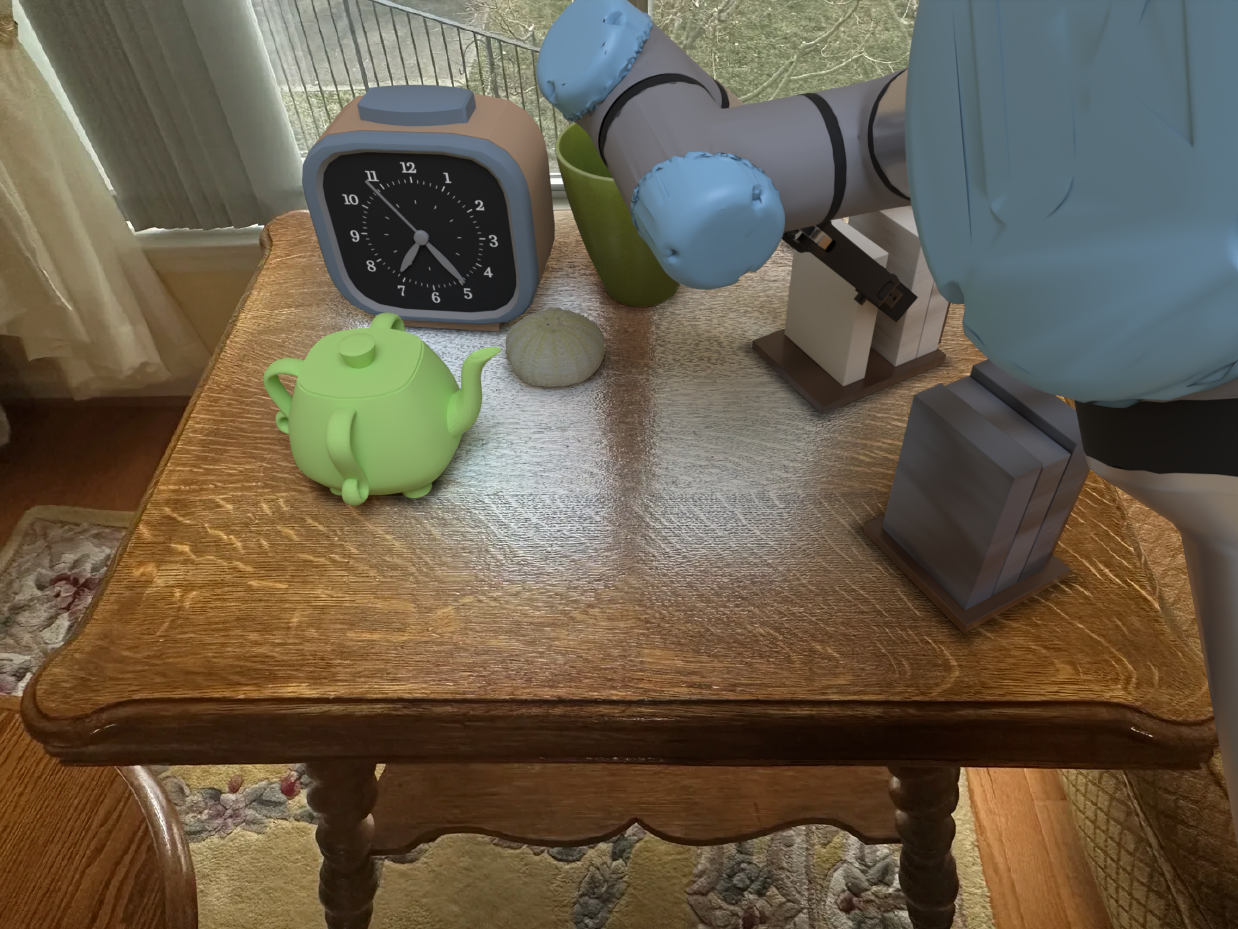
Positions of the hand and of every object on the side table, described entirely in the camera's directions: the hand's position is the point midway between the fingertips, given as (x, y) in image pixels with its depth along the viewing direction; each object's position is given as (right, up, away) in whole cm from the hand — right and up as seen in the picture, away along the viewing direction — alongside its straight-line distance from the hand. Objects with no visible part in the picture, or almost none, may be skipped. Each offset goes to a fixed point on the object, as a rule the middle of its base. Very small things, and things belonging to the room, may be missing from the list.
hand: (867, 279), depth 83 cm
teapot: (-40, -16, -2) cm, 44 cm away
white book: (-3, -6, +4) cm, 8 cm away
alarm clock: (-39, 0, +14) cm, 41 cm away
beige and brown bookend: (-1, -6, +5) cm, 8 cm away
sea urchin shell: (-28, -7, +6) cm, 29 cm away
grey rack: (+4, -23, -12) cm, 26 cm away
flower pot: (-20, +2, +15) cm, 25 cm away
